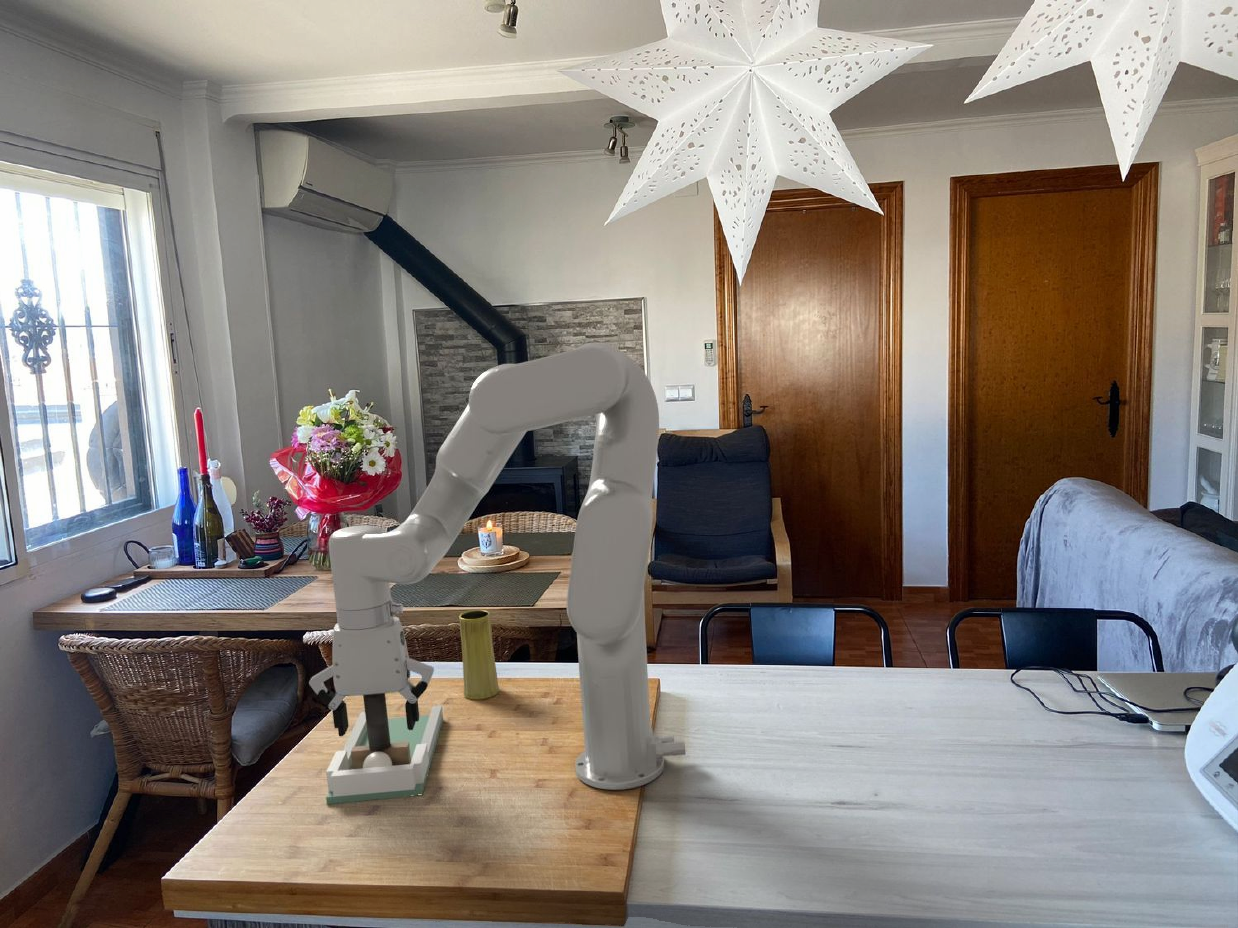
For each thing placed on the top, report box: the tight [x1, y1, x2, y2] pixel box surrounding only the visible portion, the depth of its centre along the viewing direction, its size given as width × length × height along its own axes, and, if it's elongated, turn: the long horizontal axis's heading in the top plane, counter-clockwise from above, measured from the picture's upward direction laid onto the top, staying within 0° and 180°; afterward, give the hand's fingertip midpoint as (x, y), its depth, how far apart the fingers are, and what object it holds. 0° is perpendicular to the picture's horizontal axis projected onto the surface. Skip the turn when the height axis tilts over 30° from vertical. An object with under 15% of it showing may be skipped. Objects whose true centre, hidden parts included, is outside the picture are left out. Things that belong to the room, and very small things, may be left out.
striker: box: [351, 693, 411, 769], centre depth 133 cm, size 8×3×11 cm, turn 94°
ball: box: [363, 752, 392, 768], centre depth 131 cm, size 4×4×4 cm
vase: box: [458, 609, 500, 701], centre depth 160 cm, size 6×6×14 cm
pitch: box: [325, 704, 444, 805], centre depth 139 cm, size 13×24×4 cm, turn 4°
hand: (378, 728), depth 133 cm, fingers open, 9 cm apart
